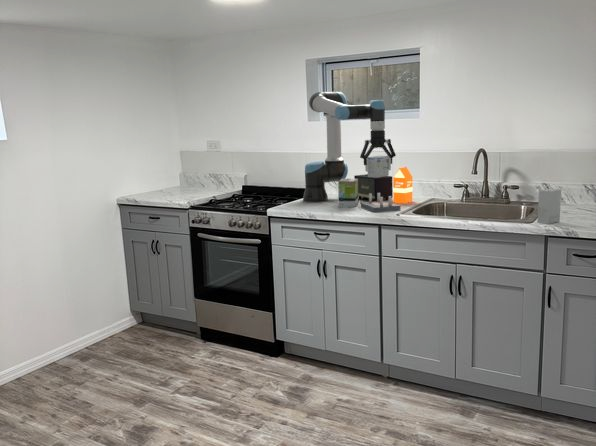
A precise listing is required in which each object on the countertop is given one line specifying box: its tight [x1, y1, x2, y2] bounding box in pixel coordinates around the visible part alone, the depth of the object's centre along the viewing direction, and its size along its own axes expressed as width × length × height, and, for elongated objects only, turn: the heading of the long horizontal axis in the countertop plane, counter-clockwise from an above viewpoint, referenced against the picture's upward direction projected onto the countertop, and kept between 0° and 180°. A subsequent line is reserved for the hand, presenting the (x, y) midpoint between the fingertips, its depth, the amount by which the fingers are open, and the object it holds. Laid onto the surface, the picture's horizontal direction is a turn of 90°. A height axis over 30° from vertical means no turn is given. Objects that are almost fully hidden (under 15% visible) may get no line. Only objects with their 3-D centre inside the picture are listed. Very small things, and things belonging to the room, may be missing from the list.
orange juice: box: [392, 166, 413, 204], centre depth 319 cm, size 8×9×20 cm
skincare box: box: [537, 187, 562, 225], centre depth 246 cm, size 8×6×15 cm
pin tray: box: [360, 193, 401, 213], centre depth 300 cm, size 19×15×8 cm
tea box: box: [337, 178, 359, 208], centre depth 316 cm, size 15×10×15 cm
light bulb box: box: [367, 155, 390, 177], centre depth 296 cm, size 11×7×11 cm, turn 135°
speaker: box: [353, 173, 394, 202], centre depth 334 cm, size 22×13×15 cm, turn 28°
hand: (378, 170), depth 297 cm, fingers closed on light bulb box, 12 cm apart
